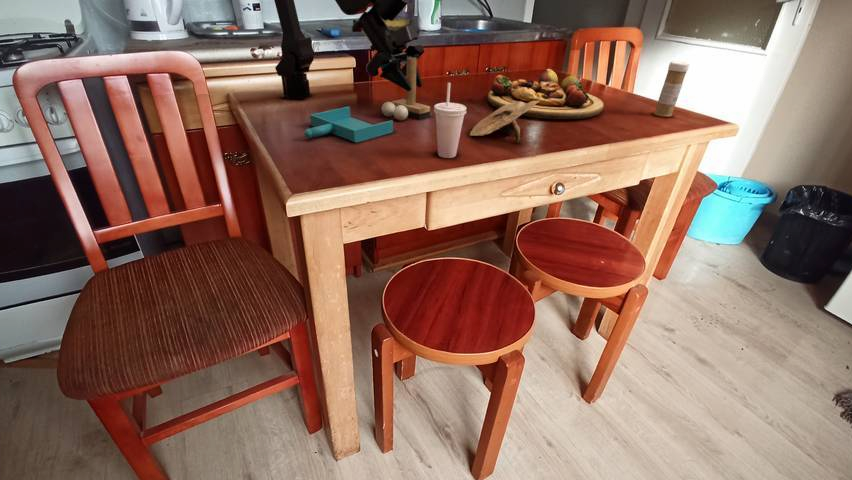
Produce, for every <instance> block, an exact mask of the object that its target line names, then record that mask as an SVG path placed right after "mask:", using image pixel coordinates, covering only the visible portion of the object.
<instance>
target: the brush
mask: <svg viewBox="0 0 852 480" xmlns="http://www.w3.org/2000/svg"><path fill="white" fill-rule="evenodd" d="M416 66H417V67H418V60H417V58H414V57H409V58H407V77H406V78H407V80H408V82H409V84H410V86H411V88H412V89H411V90H410V91H407V90H405V93H406V95H405V99H404V98H401V99H397V100H396V99H395V100H392V101H391V102H392V103H393V104H394V105H395V108H396V107H397V106H399V105H403V106H405V107H406V108H407V110H408V116H407V117H409V118H412V119H415V120H418V121H419V120H424V119H428V118H430V117H431V106H429V105H426V104H422V103H419V102H416V99H417V86H416Z"/></svg>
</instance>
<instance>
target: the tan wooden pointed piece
mask: <svg viewBox="0 0 852 480" xmlns="http://www.w3.org/2000/svg"><path fill="white" fill-rule="evenodd" d="M538 102H539V101H531V102H529V103H527V104H525V103H524V102H522V101H518V102H516V103H510V104H506V105H504V106H502V107H500V108H499V109H498V108H497V109H496V110H494V111H493V112H492V113H490V114H488V115H487V116H486V117H484V118H483V119H480V121H479V122H477V124H475V125H474V126H473V127H472V130H471V131H470V132H469V136H471V137H472V136H476V137H477V136H486V135H489V134H492V133H494V132H496V131H497V130H501V132H502V133H505V134H508V135H512V134H515V138H516V139H515V144H517V143H518V142H519V141H520V138H521V125H519V124H518V123H517V121H516V120H517V119H518V118H519V117H521V116H523V115H522V114H523V113H525V112H526V111H528V110H530V109H531V108H533V106H534V105H535V104H536V103H538ZM524 104H525V105H524Z"/></svg>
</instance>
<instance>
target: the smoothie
mask: <svg viewBox="0 0 852 480" xmlns="http://www.w3.org/2000/svg"><path fill="white" fill-rule="evenodd" d="M451 85H452V84H451V82H447V85H446V86H447V87H446V89H447V90H446V102H440V103H439V102H438V103H436V104H434V106H433V112H434V113H435V128H436V144H437V155H438V156H439V157H440V158H443V159H453V158H455V157H456V156H457V153H458V147H459V143H460V139H461V134H462V128H463V123H464V118H465V115H466V114H467V106H466V105H464V104H461V103H457V102H450V98H451Z"/></svg>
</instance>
